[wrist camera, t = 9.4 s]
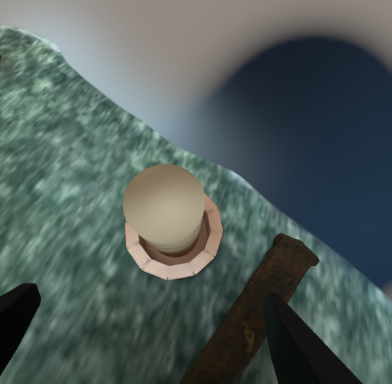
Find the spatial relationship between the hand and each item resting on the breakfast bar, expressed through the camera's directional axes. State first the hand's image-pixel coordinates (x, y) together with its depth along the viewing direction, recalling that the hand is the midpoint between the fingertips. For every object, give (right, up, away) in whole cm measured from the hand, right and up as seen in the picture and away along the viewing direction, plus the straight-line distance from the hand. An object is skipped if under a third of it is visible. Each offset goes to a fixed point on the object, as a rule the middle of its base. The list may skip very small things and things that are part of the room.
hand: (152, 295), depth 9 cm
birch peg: (0, 0, +12) cm, 12 cm away
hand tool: (+5, -9, +11) cm, 15 cm away
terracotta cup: (0, 0, +13) cm, 13 cm away
